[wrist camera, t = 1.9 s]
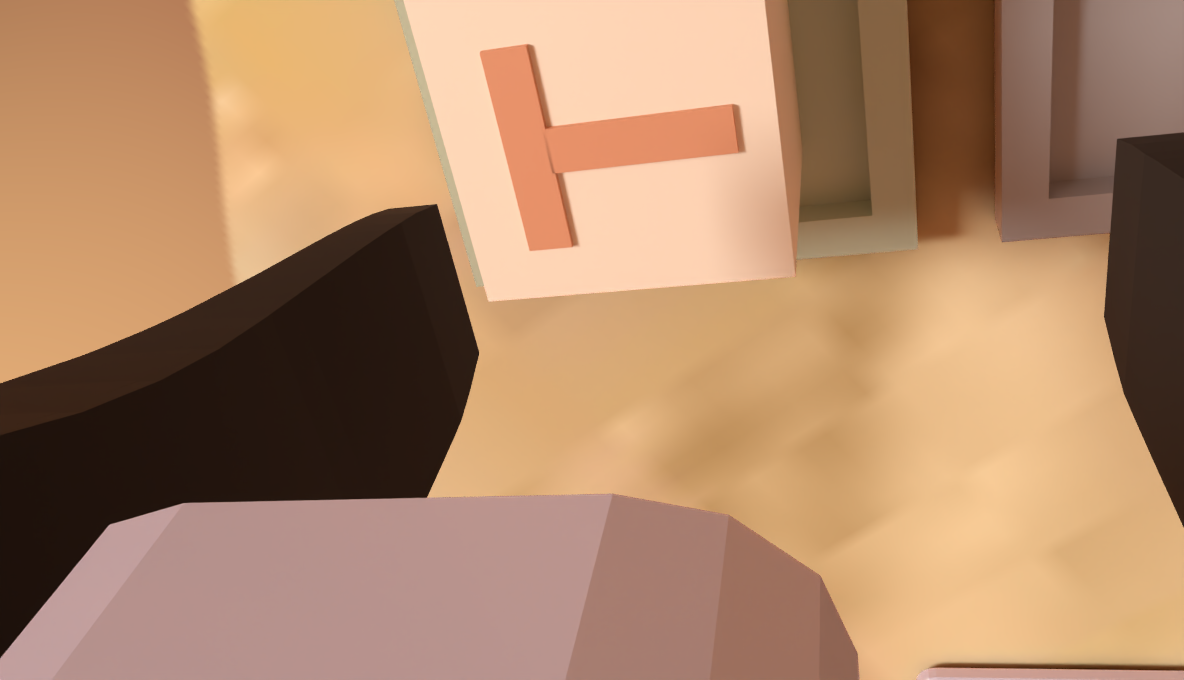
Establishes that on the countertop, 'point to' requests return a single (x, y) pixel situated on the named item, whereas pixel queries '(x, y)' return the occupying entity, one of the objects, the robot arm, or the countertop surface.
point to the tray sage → (822, 128)
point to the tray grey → (1077, 105)
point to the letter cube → (617, 139)
